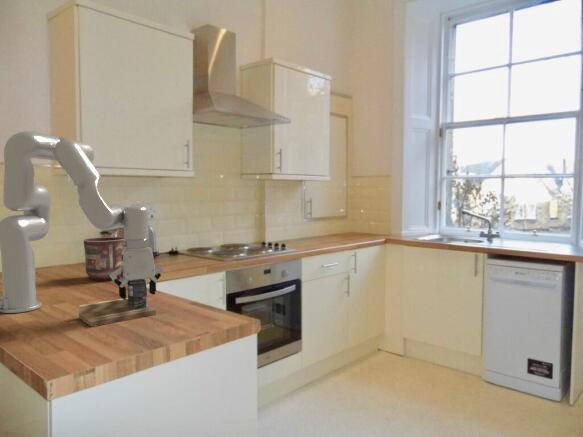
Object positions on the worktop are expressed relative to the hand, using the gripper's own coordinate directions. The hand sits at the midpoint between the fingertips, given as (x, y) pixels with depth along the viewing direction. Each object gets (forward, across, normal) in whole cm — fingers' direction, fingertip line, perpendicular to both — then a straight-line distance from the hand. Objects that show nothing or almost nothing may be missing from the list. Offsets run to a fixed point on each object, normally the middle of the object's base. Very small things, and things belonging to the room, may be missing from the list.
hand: (138, 296), depth 148 cm
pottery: (+5, +10, +63) cm, 64 cm away
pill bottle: (+4, 0, 0) cm, 4 cm away
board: (+5, -7, -1) cm, 9 cm away
